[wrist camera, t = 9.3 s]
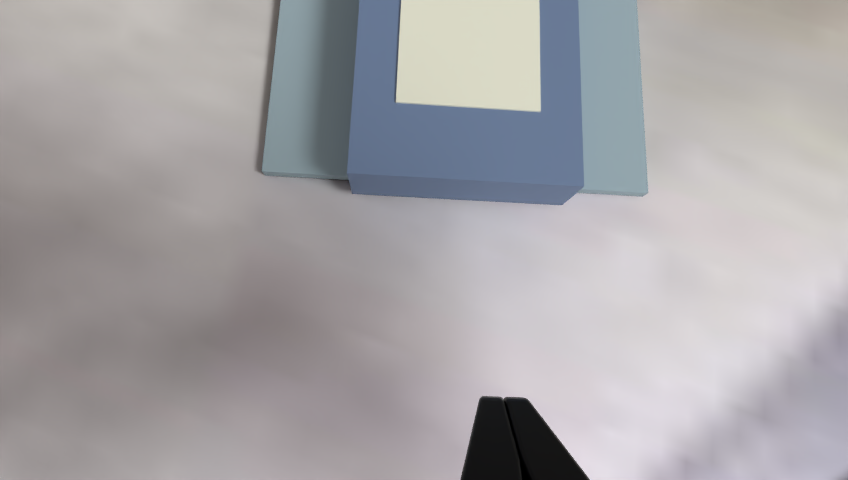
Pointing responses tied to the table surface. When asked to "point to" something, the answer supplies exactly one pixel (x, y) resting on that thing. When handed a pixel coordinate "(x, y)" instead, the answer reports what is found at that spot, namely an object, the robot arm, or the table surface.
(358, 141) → the box
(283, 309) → the table surface
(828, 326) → the table surface
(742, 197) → the table surface
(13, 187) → the table surface
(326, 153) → the mat
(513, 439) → the robot arm
